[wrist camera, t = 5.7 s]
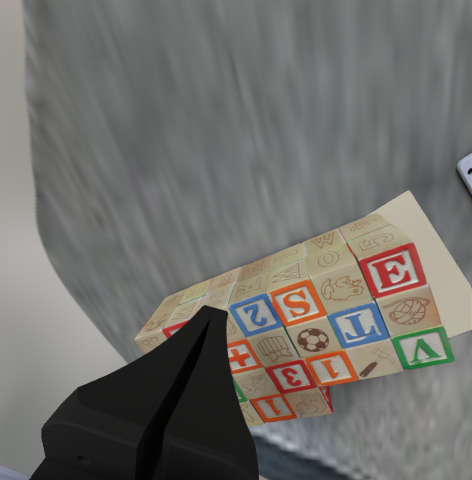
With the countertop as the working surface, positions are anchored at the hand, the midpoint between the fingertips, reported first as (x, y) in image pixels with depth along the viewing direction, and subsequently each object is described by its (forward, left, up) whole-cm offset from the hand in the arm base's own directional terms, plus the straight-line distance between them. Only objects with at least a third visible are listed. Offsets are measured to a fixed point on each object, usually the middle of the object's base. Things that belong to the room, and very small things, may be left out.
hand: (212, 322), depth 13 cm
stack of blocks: (-2, 0, -7) cm, 7 cm away
